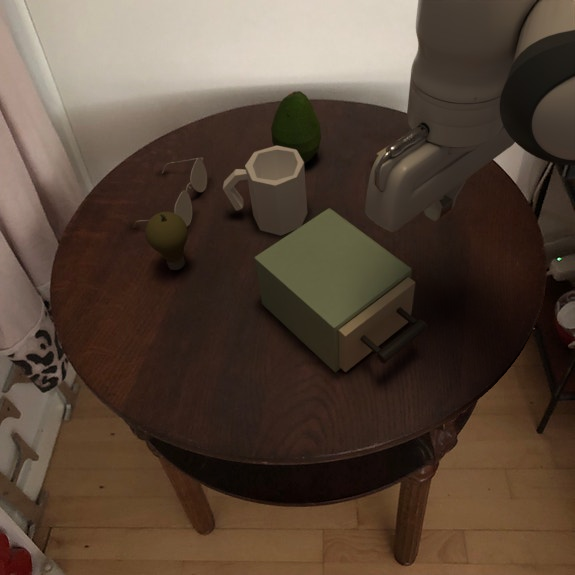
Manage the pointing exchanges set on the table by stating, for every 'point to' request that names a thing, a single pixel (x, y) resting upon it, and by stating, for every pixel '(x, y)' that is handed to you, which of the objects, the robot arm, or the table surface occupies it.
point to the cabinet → (325, 280)
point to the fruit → (297, 126)
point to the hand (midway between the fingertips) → (438, 211)
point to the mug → (272, 189)
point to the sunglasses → (198, 184)
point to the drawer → (380, 327)
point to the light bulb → (168, 237)
